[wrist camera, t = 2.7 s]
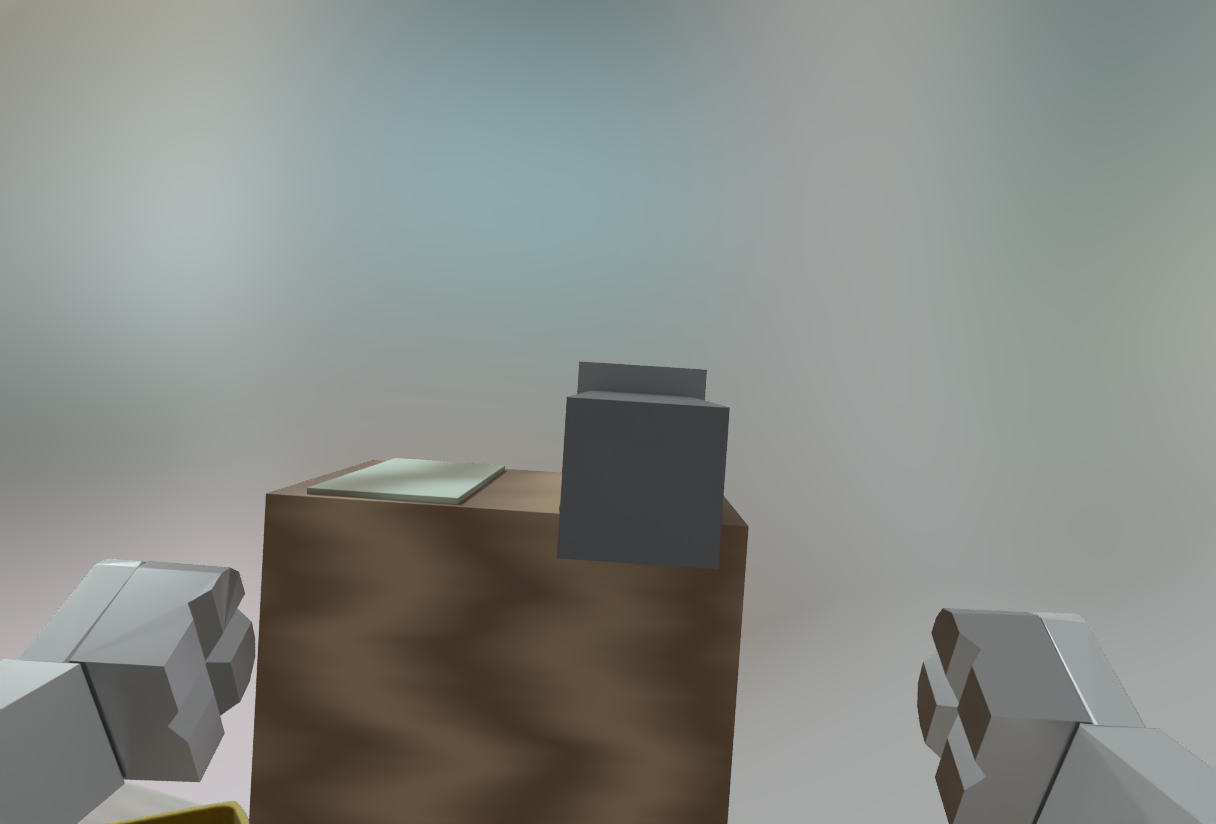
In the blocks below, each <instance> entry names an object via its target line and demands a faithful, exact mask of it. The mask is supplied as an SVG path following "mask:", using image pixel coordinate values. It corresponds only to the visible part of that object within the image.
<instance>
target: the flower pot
mask: <svg viewBox="0 0 1216 824" xmlns="http://www.w3.org/2000/svg"><path fill="white" fill-rule="evenodd" d="M108 824H249V819H248V817H247V815H246V813H245V811H244V809H243V808H242V807H241V806H240V805H239V804H238V803H237V802H236V801H229V802H222V803H216V804H210V805H203V806H198V807H193V808H188V809H183V810H178V811H172V812H167V813H161V814H157V815H152V816H146V817H140V818H135V819H129V820H124V821H119V822H113V823H108Z"/></svg>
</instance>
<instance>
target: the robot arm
mask: <svg viewBox="0 0 1216 824" xmlns="http://www.w3.org/2000/svg"><path fill="white" fill-rule="evenodd" d="M244 595H245V592H244V588H243V584H242V581H241V578H240V574H239V572H238V571H236V570H234V569H232V568H229V567H216V566H204V565H192V564H179V563H167V562H155V561H148V562H142V561H130V560H118V559H108V558H107V559H105V560H103V561H101V562H99V563H97V564H95V565H94V566H93V567H92V568H91V570H90V571H89V572H88V573H87V574H86V576H85V577H84V578H83V579H82V581H81V582H80V583H79V584H78V586H77V587H76V588H75V589H74V591H73V592H72V593H71V595H70V596H69V597H68V598H67V599H66V601H65V602H64V603H63V604H62V606H61V607H60V608H59V610H58V611H57V612H56V613H55V614H54V616H53V617H52V618H51V619H50V621H49V622H48V623H47V624H46V626H45V627H44V628H43V629H42V631H41V632H40V633H39V634H38V636H37V637H36V638H35V639H34V641H33V642H32V643H31V644H30V646H29V647H28V648H27V649H26V651H25V652H24V653H23V654H22V656H21V657H20V658H19V659H18V660H13V659H4V660H2V661H0V824H77V823H78V822H79V821H81V820H82V819H83V818H84V817H85V816H87V815H88V814H89V813H90V812H91V811H93V810H94V809H95V808H96V807H97V806H99V805H100V804H101V803H102V802H103V801H104V800H106V799H107V798H108V797H109V796H110V795H112V794H113V793H114V792H115V791H116V790H118V789H119V788H120V787H121V786H122V785H124V780H123V779H126V780H127V779H129V780H154V781H182V782H200V781H201V779H202V777H203V775H204V773H205V771H206V769H207V767H208V765H209V763H210V761H211V759H212V757H213V755H214V753H215V751H216V749H217V747H218V745H219V743H220V741H221V739H222V737H223V735H224V729H223V725H222V722H221V718H220V715H222V714H223V713H225V712H226V711H228V710H229V709H230V708H232V707H233V706H235V705H236V704H238V703H239V702H240V701H241V699H242V697H243V695H244V692H245V690H246V688H247V686H248V684H249V682H250V677H251V673H252V669H253V664H254V660H255V636H254V631H253V626H252V622H251V621H250V620H249V619H248V618H247V617H246V616H245V615H244V614H243V613H241V612H240V611H239V610H238V609H237V607H238V605H239V604H240V602H241V600H242V598H243V596H244ZM932 636H933V639H934V642H935V645H936V649H937V651H936V652H935V653H934V654H933V655H931V656H930V657H929V658H927V659H926V660H924V661H923V665H922V669H921V673H920V677H919V681H918V700H917V707H918V714H919V721H920V727H921V730H922V734H923V737H924V741H925V744H926V745H927V746H928V747H929V748H930V749H931V750H933V751H934V752H935V753H936V754H937V755H938V756H939V757H940V758H941V760H940V763H939V766H938V770H937V773H936V776H935V778H936V782H937V786H938V789H939V792H940V796H941V799H942V802H943V805H944V809H945V812H946V815H947V819H948V822H949V824H1216V770H1215V769H1214V768H1212V767H1211V766H1210V765H1209V764H1207V763H1206V762H1204V761H1203V760H1202V759H1200V758H1199V757H1198V756H1196V755H1195V754H1193V753H1192V752H1191V751H1190V750H1188V749H1187V748H1185V747H1184V746H1183V745H1181V744H1180V743H1179V742H1177V741H1176V740H1175V739H1173V738H1171V737H1170V736H1169V735H1168V734H1166V733H1165V732H1163V731H1162V730H1161V729H1156V728H1146V727H1145V725H1144V723H1143V722H1142V720H1141V718H1140V716H1139V714H1138V712H1137V711H1136V709H1135V707H1134V705H1133V704H1132V702H1131V700H1130V698H1129V697H1128V695H1127V693H1126V691H1125V689H1124V688H1123V686H1122V684H1121V682H1120V680H1119V679H1118V677H1117V675H1116V673H1115V672H1114V670H1113V668H1112V666H1111V665H1110V662H1109V661H1108V659H1107V657H1106V655H1105V654H1104V652H1103V650H1102V648H1101V647H1100V645H1099V643H1098V641H1097V639H1096V637H1095V636H1094V634H1093V632H1092V630H1091V629H1090V627H1089V625H1088V623H1087V622H1086V620H1085V619H1084V618H1082V617H1081V616H1080V615H1078V614H1069V613H1045V612H1044V613H1043V612H1032V613H1027V612H1011V611H989V610H969V609H949V608H943V609H942V610H941V612H940V613H939V614H938V616H937V617H936V620H935V623H934V627H933V630H932Z"/></svg>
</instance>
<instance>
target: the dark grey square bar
mask: <svg viewBox="0 0 1216 824" xmlns="http://www.w3.org/2000/svg"><path fill="white" fill-rule="evenodd" d="M706 372H707V370H701V369H685V368H670V367H654V366H639V365H624V364H607V363H593V362H579V376H578V377H579V378H578V391H577V394H576V395H573V396H569V397H567V404H566V421H565V436H564V452H563V468H562V483H561V499H560V514H559V530H558V546H557V558H559V559H574V560H588V561H602V562H617V563H631V564H646V565H660V566H675V567H689V568H703V569H718V567H719V552H720V538H721V524H722V509H723V493H724V481H725V465H726V451H727V438H728V424H729V407H725V406H722V405H718V404H715V403H711V402H708V401H705V389H706V374H707V373H706Z"/></svg>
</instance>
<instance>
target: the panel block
mask: <svg viewBox="0 0 1216 824" xmlns="http://www.w3.org/2000/svg"><path fill="white" fill-rule="evenodd" d="M561 483H562V473H557V472H542V471H528V470H513V469H505V466H503V465H489V464H488V465H487V464H474V463H459V462H444V461H428V460H415V459H400V458H394V459H391V460H388V461H378V460H371V461H369V462H365V463H362V464H359V465H356V466H352V467H349V468H346V469H343V470H340V471H336V472H333V473H330V474H327V475H324V476H321V477H317V478H315V479H311V480H308V481H305V482H302V483H298V484H295V485H292V486H289V487H286V488H282V489H279V490H276V491H273V492H270V493H267V494H266V506H265V525H264V544H263V563H262V582H261V583H262V584H261V602H260V621H259V641H258V660H257V661H258V662H257V679H256V681H257V682H256V699H255V719H254V737H253V757H252V776H251V796H250V816H249V824H727V821H728V807H729V794H730V778H731V765H732V751H733V737H734V723H735V708H736V695H737V680H738V666H739V653H740V638H741V624H742V610H743V596H744V582H745V568H746V554H747V540H748V525H747V524H746V523H745V522H744V520H743V519H742V518H741V517H740V515H739V514H738V513H737V512H736V511H735V509H734V508H733V507H732V505H730V503H729V502H728V500H727V499H726V498H725V497H724V495H723V509H722V524H721V538H720V552H719V567H718V569H703V568H689V567H675V566H660V565H646V564H631V563H617V562H602V561H588V560H574V559H559V558H557V546H558V530H559V514H560V499H561Z"/></svg>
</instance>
